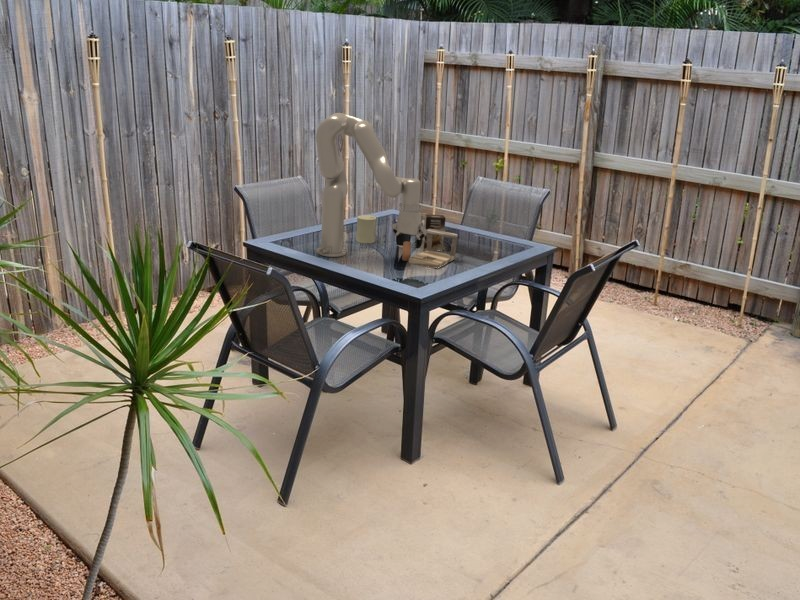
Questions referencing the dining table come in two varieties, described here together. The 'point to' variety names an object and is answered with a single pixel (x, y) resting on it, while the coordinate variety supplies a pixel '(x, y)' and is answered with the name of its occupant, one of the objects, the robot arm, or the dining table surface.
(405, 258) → the peg
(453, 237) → the socket block
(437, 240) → the coffee box
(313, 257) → the dining table surface
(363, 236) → the can
